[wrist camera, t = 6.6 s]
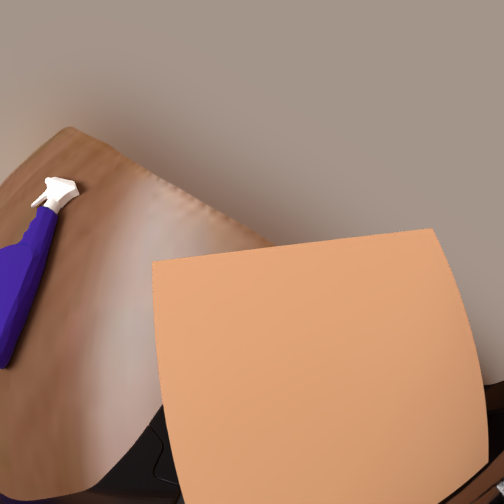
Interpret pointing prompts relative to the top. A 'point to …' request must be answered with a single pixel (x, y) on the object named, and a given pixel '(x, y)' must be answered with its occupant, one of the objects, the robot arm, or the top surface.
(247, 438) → the orange rectangular block
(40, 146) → the top surface
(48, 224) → the spray bottle
